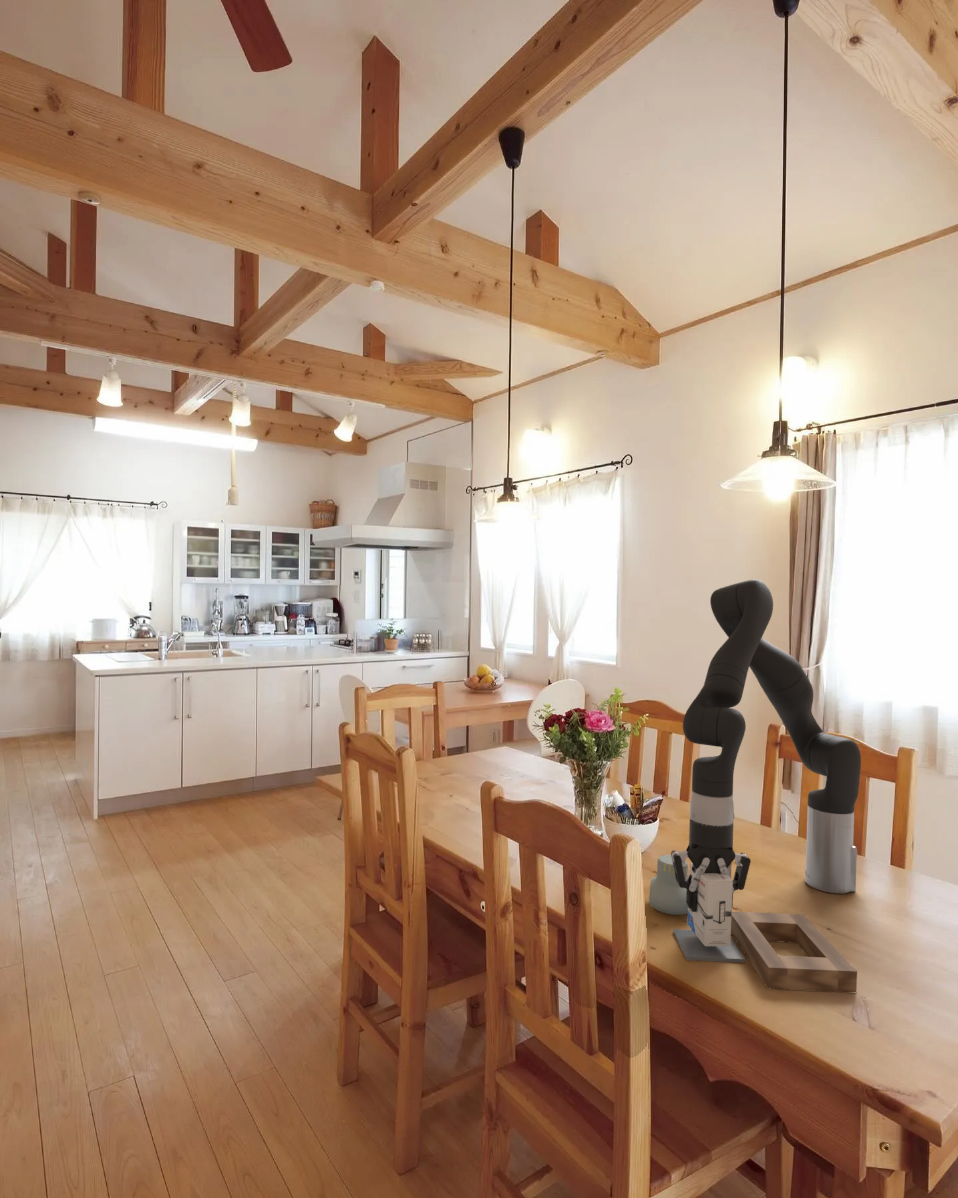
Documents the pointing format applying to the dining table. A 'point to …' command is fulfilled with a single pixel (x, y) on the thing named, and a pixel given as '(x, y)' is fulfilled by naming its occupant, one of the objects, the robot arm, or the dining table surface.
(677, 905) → the air freshener
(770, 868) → the dining table surface
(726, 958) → the coaster
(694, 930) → the ink box
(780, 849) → the dining table surface
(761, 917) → the pocket
